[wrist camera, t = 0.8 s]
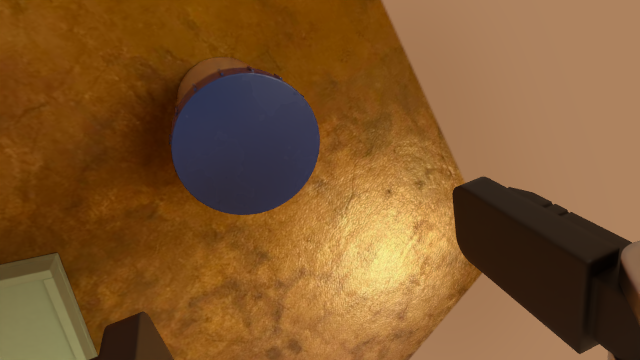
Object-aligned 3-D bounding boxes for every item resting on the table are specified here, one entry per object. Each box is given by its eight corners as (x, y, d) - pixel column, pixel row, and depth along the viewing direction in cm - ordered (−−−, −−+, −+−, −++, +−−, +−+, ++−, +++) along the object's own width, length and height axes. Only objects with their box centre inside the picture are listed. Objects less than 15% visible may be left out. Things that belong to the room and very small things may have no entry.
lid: (155, 75, 18) (154, 82, 16) (303, 59, 20) (315, 63, 18) (186, 211, 20) (187, 229, 19) (313, 186, 22) (324, 200, 21)
